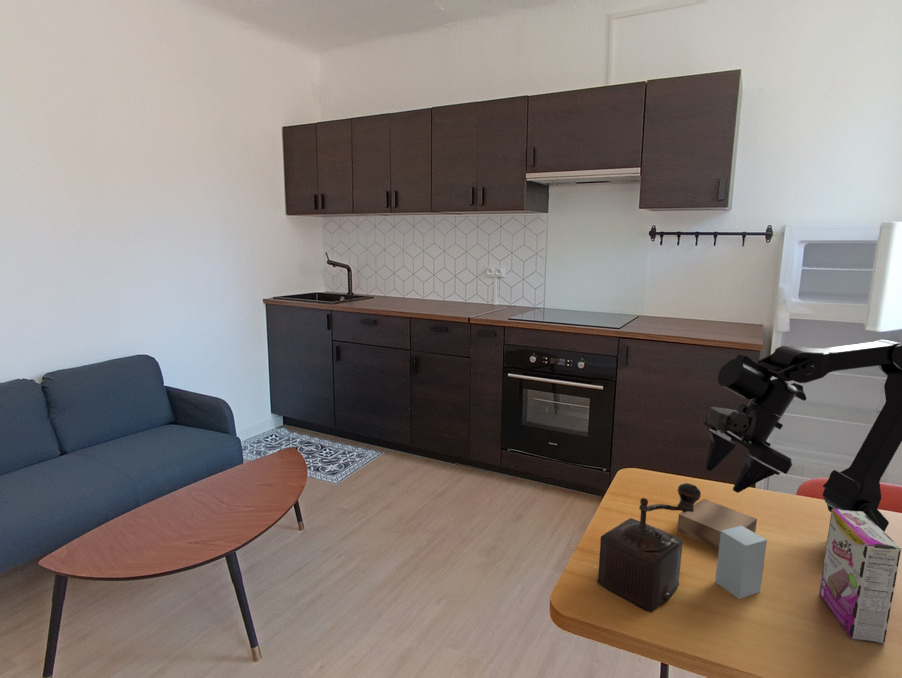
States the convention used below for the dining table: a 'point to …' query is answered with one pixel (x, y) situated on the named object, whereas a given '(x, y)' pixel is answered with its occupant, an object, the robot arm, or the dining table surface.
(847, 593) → the candy bar box
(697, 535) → the walnut block
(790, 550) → the dining table surface
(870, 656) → the dining table surface
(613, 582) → the manual coffee grinder
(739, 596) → the grey-blue block
